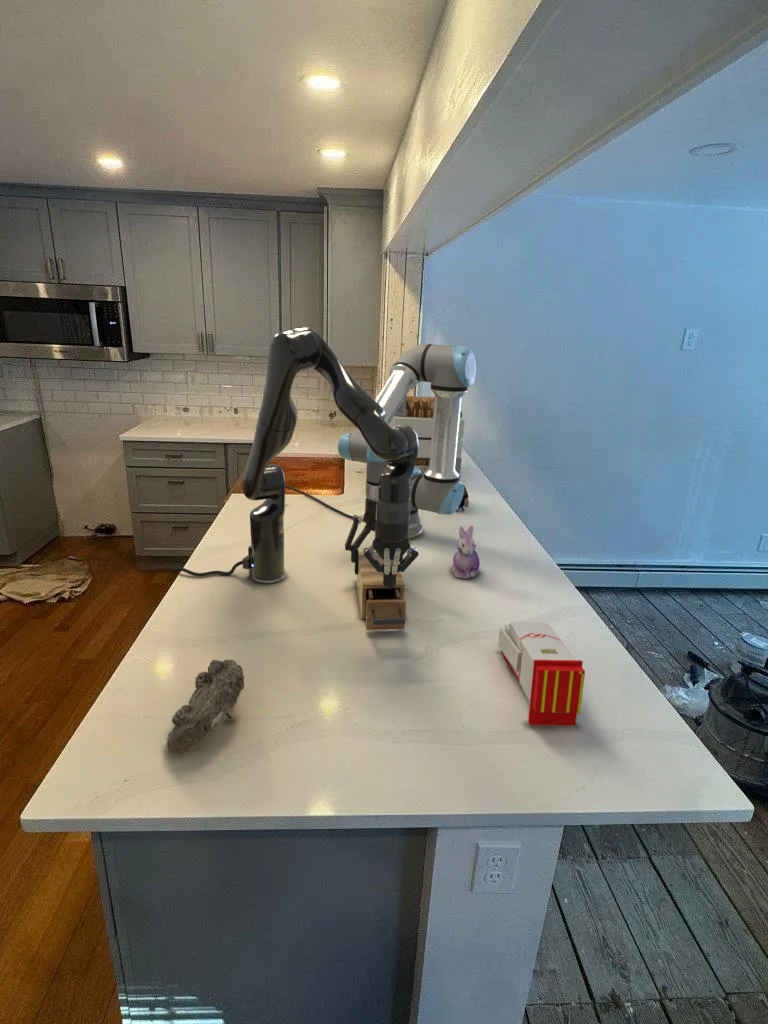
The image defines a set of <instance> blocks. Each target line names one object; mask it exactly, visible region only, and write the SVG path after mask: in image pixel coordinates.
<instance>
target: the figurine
mask: <svg viewBox="0 0 768 1024" xmlns="http://www.w3.org/2000/svg"><path fill="white" fill-rule="evenodd" d="M458 533H459V535H458V536H459V537H458V538H459V539H458V541H457V544H456V547H457V548H456V549H457V551H456V553H455V554H454V555H453V561H452V563H453V565H452V568H451V571H452V573H453V574H454V576H455V577H456V578H458V579H465V580H466V579H469V578H474V577H476V576H477V574H478V573H479V570H480V569H479V568H480V564H481V563H480V562H481V561H480V557H479V554H478V552H477V551H476V549H477V548H476V546H477V545H476V542H475V540H474V537H473V533H474V525H473V524H471V525H469V527H468V529H467V530H465V529H464V527H463V526H462V525H460V526H459V527H458Z"/></svg>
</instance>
